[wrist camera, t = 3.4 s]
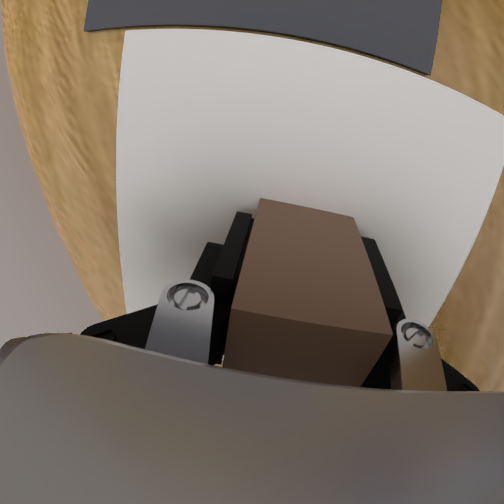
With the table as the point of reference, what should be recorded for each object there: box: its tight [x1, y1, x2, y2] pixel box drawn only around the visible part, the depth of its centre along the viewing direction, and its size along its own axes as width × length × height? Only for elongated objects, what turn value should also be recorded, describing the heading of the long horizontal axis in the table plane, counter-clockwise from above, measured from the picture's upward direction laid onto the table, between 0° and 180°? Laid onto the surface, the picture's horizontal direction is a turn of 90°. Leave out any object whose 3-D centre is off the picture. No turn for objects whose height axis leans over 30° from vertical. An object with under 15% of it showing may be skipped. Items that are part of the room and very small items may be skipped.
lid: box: [116, 29, 504, 387], centre depth 10 cm, size 15×15×7 cm
